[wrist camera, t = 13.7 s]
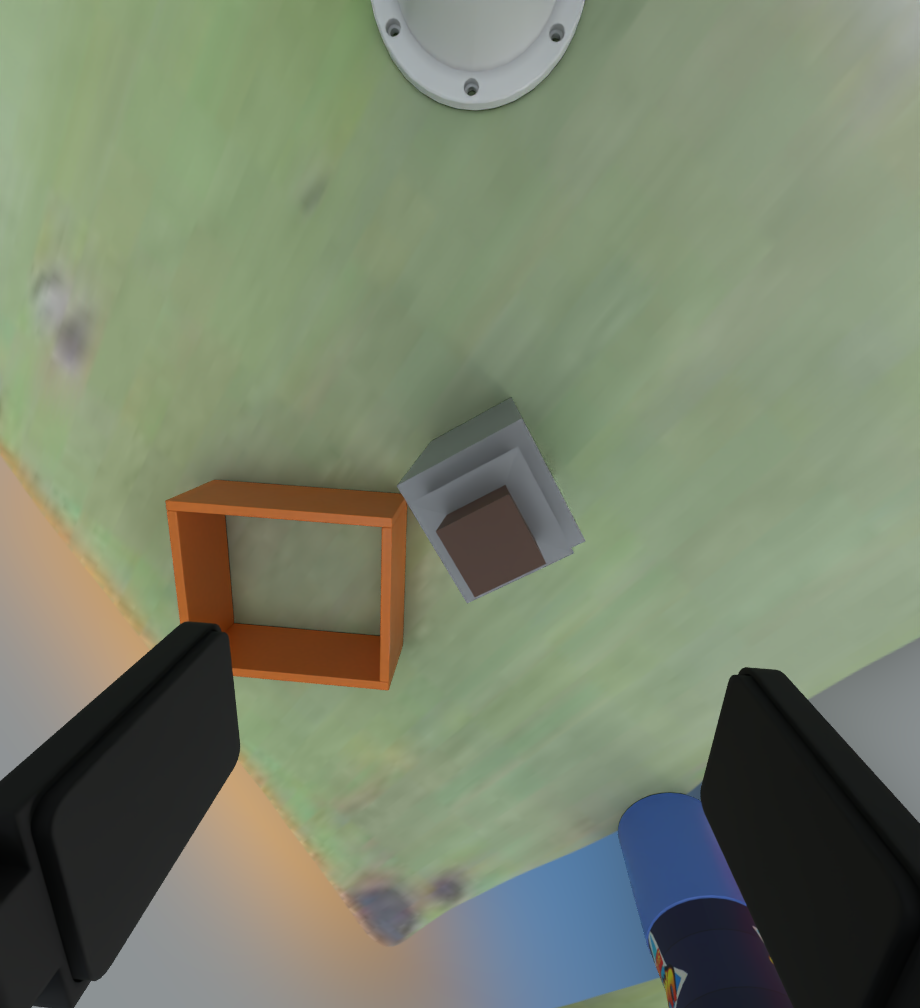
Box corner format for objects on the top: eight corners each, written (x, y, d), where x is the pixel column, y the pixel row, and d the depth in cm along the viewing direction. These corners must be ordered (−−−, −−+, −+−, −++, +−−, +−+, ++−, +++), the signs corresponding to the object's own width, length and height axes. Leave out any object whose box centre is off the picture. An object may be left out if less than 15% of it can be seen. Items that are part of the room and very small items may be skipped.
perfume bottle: (474, 517, 38) (458, 647, 21) (430, 441, 36) (375, 513, 19) (552, 477, 37) (606, 581, 19) (511, 397, 35) (529, 431, 18)
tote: (213, 479, 38) (165, 500, 33) (407, 493, 38) (392, 518, 32) (227, 629, 42) (185, 671, 37) (403, 645, 42) (388, 690, 36)
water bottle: (713, 784, 44) (982, 1301, 20) (725, 861, 46) (977, 1406, 22) (608, 799, 45) (741, 1303, 21) (625, 874, 47) (761, 1403, 23)
